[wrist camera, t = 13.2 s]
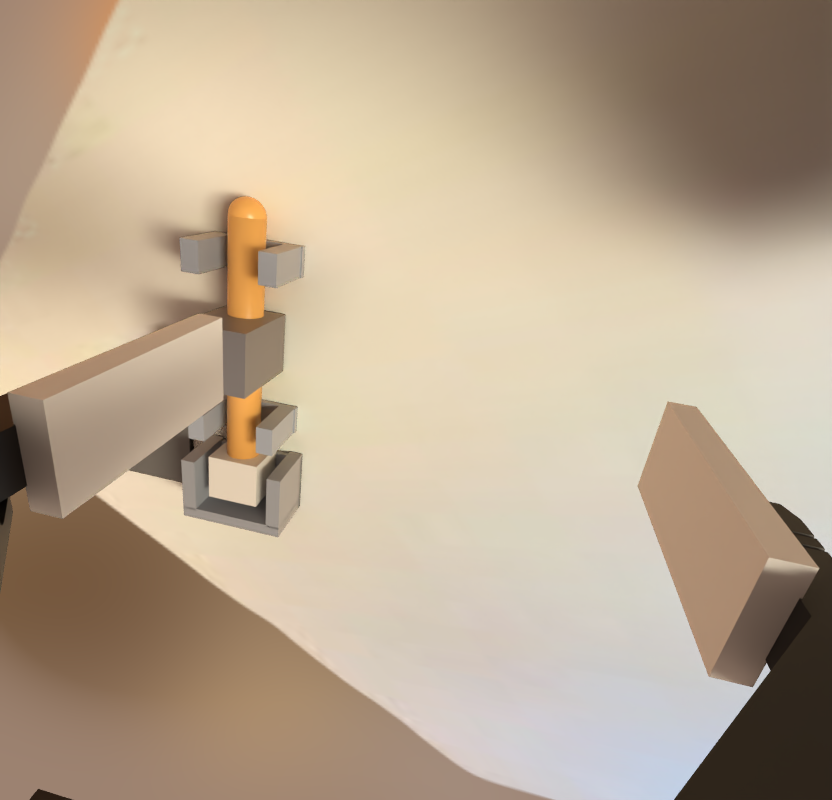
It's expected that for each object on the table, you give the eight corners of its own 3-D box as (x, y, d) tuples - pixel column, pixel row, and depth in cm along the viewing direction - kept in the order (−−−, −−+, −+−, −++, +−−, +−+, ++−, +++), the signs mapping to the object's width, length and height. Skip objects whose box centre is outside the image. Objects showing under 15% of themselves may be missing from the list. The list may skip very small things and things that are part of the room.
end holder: (211, 434, 50) (181, 459, 46) (302, 454, 49) (280, 481, 45) (213, 486, 53) (184, 515, 48) (299, 505, 52) (278, 537, 47)
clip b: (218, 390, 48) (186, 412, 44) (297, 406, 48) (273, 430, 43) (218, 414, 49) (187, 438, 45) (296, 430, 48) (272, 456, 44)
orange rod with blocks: (229, 191, 42) (176, 190, 35) (290, 201, 41) (247, 201, 35) (228, 474, 51) (186, 513, 45) (277, 484, 50) (242, 526, 44)
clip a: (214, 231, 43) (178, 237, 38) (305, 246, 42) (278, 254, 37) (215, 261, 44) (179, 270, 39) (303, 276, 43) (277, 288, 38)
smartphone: (192, 485, 53) (54, 454, 54) (197, 481, 54) (61, 450, 55) (190, 424, 50) (45, 392, 51) (195, 420, 51) (52, 388, 52)
